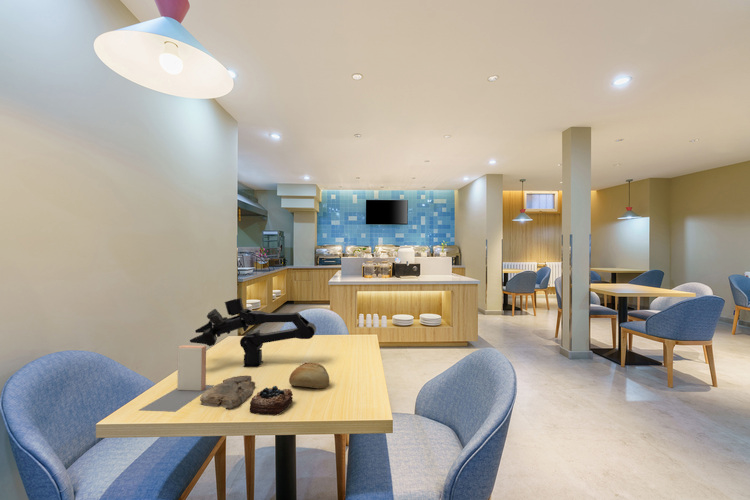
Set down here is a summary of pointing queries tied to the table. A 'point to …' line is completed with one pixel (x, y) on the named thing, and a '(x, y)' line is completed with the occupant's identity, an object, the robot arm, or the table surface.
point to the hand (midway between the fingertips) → (192, 336)
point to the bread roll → (310, 376)
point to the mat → (174, 400)
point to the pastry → (271, 401)
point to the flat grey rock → (228, 392)
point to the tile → (191, 368)
